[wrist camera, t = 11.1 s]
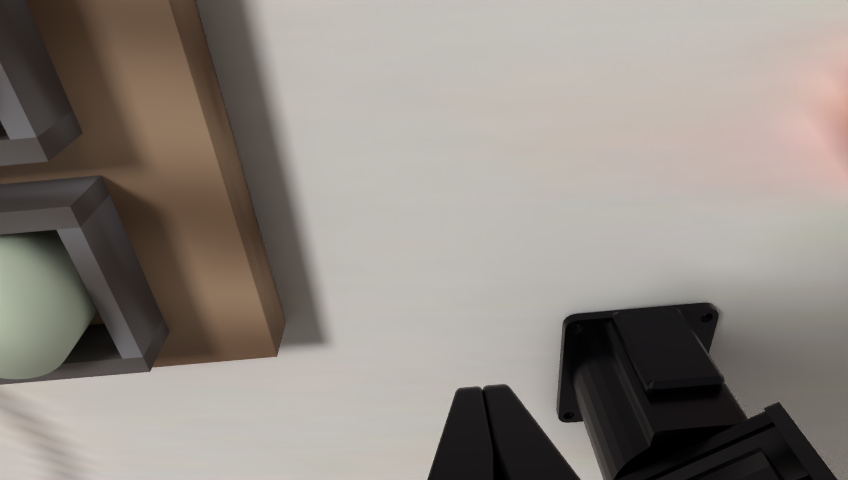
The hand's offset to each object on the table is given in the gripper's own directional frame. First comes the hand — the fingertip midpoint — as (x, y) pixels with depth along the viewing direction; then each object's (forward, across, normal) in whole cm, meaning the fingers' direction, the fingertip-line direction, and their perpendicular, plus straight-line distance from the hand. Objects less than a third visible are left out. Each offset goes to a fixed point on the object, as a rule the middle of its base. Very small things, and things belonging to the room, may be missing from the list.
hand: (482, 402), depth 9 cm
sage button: (+10, +14, +3) cm, 17 cm away
